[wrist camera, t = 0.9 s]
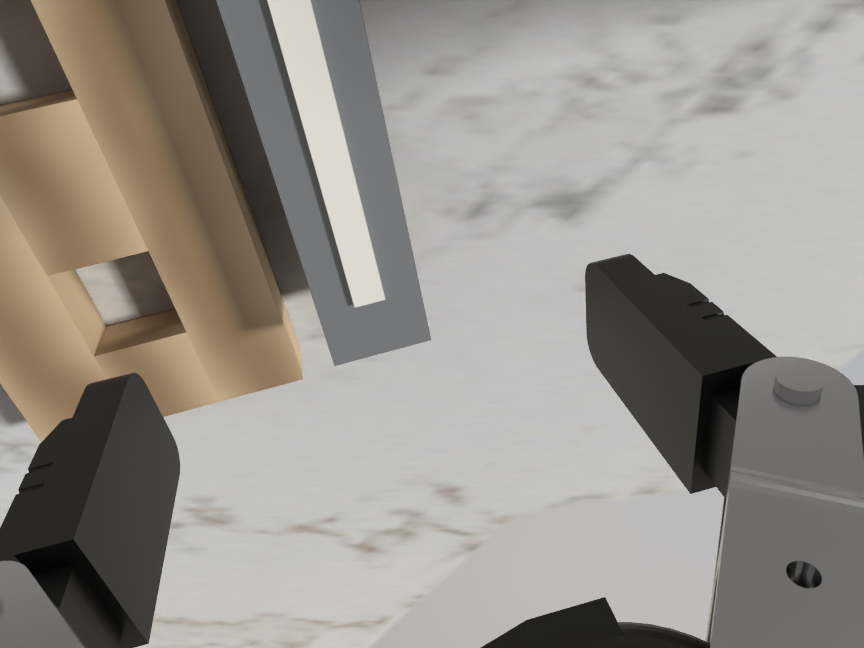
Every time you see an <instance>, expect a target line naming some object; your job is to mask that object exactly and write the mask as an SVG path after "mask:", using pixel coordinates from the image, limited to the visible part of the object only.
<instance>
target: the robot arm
mask: <svg viewBox="0 0 864 648" xmlns="http://www.w3.org/2000/svg"><path fill="white" fill-rule="evenodd" d="M585 283H586V323H587V340H588V346H589V349H590V353H591V355H592V358H593V360H594V362H595V364H596V366H597V368H598V369H599V370H600V372H601V373H602V374H603V376H604V377H605V378H606V380H607V381H608V383H609V384H610V385H611V387H612V388H613V389H614V391H615V392H616V393H617V395H618V396H619V397H620V399H621V400H622V402H623V403H624V404H625V406H626V407H627V408H628V410H629V411H630V412H631V414H632V415H633V416H634V418H635V419H636V421H637V422H638V423H639V425H640V426H641V427H642V429H643V430H644V431H645V433H646V434H647V435H648V437H649V438H650V440H651V441H652V442H653V444H654V445H655V446H656V448H657V449H658V450H659V452H660V453H661V454H662V456H663V457H664V459H665V460H666V461H667V463H668V464H669V465H670V467H671V468H672V469H673V471H674V472H675V473H676V475H677V476H678V478H679V479H680V480H681V482H682V483H683V484H684V486H685V487H686V488H687V490H688V491H689V492H690V494H692V493H695V492H699V491H702V490H706V489H709V488H713V487H717V488H718V490H719V491H720V492H721V493H722V495H723V496H724V504H723V511H722V519H721V527H720V536H719V543H718V551H717V560H716V567H715V575H714V584H713V592H712V599H711V607H710V615H709V622H708V630H707V637H706V642H705V641H703V640H701V639H699V638H697V637H694V636H692V635H689V634H686V633H682V632H680V631H676V630H674V629H670V628H665V627H660V626H656V625H651V624H642V623H631V622H617V621H616V618H615V616H614V614H613V612H612V610H611V608H610V606H609V604H608V603H607V600H606V598H605V597H604V598H601V599H597V600H594V601H590V602H587V603H584V604H580V605H577V606H573V607H570V608H566V609H563V610H560V611H556V612H553V613H549V614H546V615H543V616H539V617H536V618H532V619H529V620H526V621H524V622H523V623H521V624H519V625H518V626H516V627H515V628H513V629H511V630H509V631H508V632H507V633H504V634H503V635H501V636H500V637H498V638H496V639H495V640H493V641H491V642H490V643H488V644H486V645H485V646H483V647H481V648H864V385H853V384H852V383H851V381H850V380H849V379H848V378H847V377H845V376H844V375H843V374H842V373H840V372H839V371H837V370H835V369H834V368H832V367H829V366H827V365H825V364H822V363H819V362H816V361H813V360H809V359H804V358H797V357H776V356H775V355H774V354H773V353H772V352H771V351H769V350H768V349H767V348H766V347H765V346H763V345H762V344H761V343H760V342H759V341H758V340H756V339H755V338H754V337H753V336H752V335H750V334H749V333H748V332H747V331H746V330H745V329H743V328H742V327H741V326H740V325H739V324H737V323H736V322H735V321H734V320H733V319H732V318H730V317H729V316H728V315H724V313H723V311H722V310H721V309H720V308H719V307H717V306H716V305H715V304H714V303H713V302H710V303H709V300H708V298H707V297H706V296H704V295H703V294H702V293H701V292H700V291H698V290H697V289H696V288H695V287H694V286H693V285H691V284H690V283H688V282H685V281H683V280H680V279H678V278H675V277H673V276H670V275H668V274H665V273H662V274H658V275H654V274H653V273H652V272H651V271H650V270H649V269H647V268H646V267H645V266H644V265H643V264H642V263H641V262H640V261H639V260H638V259H636V258H635V257H634V256H633V255H631V254H626V255H622V256H618V257H613V258H609V259H605V260H601V261H597V262H593V263H590V264H588V266H587V268H586V274H585ZM28 470H29V473H27V474H25V476H24V479H23V481H22V483H21V485H20V487H19V489H18V490H19V494H17V495H16V496H15V498H14V500H13V502H12V504H11V506H10V508H9V511H8V513H7V515H6V517H5V519H4V521H3V523H2V526H1V528H0V648H134V647H138V646H141V645H145V644H149V638H150V633H151V627H152V622H153V616H154V611H155V605H156V600H157V595H158V589H159V584H160V578H161V573H162V567H163V562H164V556H165V551H166V545H167V540H168V535H169V529H170V524H171V518H172V513H173V507H174V502H175V496H176V491H177V486H178V480H179V474H180V460H179V453H178V449H177V445H176V442H175V440H174V438H173V436H172V434H171V432H170V430H169V428H168V426H167V424H166V422H165V420H164V418H163V416H162V414H161V412H160V410H159V408H158V406H157V404H156V403H155V401H154V399H153V397H152V395H151V393H150V391H149V389H148V387H147V385H146V383H145V381H144V380H143V379H142V377H141V376H140V375H139V374H137V373H130V374H126V375H122V376H118V377H114V378H110V379H105V380H101V381H97V382H93V383H90V384H88V385H87V386H86V387H85V389H84V392H83V394H82V396H81V399H80V401H79V403H78V406H77V408H76V410H75V413H74V415H73V417H72V418H69V419H65V420H62V421H61V422H60V423H59V424H58V425H57V426H56V427H55V428H54V430H53V431H52V432H51V433H50V434H49V435H48V436H47V437H46V438H45V439H44V440H43V441H42V442H41V443H40V445H39V447H38V449H37V451H36V453H35V455H34V457H33V459H32V462H31V464H30V466H29V468H28Z"/></svg>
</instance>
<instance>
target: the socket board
mask: <svg viewBox="0 0 864 648" xmlns="http://www.w3.org/2000/svg"><path fill="white" fill-rule="evenodd" d="M31 2H32V4H33V6H34V8H35V11H36V13H37V15H38V17H39V19H40V21H41V23H42V25H43V28H44V30H45V32H46V34H47V36H48V38H49V40H50V42H51V45H52V47H53V49H54V51H55V53H56V55H57V57H58V60H59V62H60V64H61V66H62V68H63V70H64V72H65V74H66V77H67V79H68V81H69V83H70V85H71V87H72V89H73V90H69V91H65V92H60V93H56V94H51V95H47V96H42V97H38V98H33V99H29V100H24V101H20V102H16V103H11V104H7V105H2V106H0V384H1V385H2V387H3V388H4V390H5V391H6V392H7V394H8V395H9V397H10V398H11V399H12V401H13V402H14V404H15V405H16V407H17V408H18V409H19V411H20V412H21V414H22V415H23V416H24V418H25V419H26V421H27V422H28V424H29V425H30V426H31V428H32V429H33V431H34V432H35V434H36V435H37V436H38V438H39V439H40V441H41V442H42V441H43V440H44V439H45V438H46V437H47V436H48V435H49V434H50V433H51V432H52V431H53V430H54V428H55V427H56V426H57V425H58V424H59V423H60V422H61V421H62V420H65V419H69V418H72V417H73V415H74V413H75V410H76V408H77V406H78V403H79V401H80V399H81V396H82V394H83V392H84V389H85V387H86V386H87V385H88V384H90V383H93V382H97V381H101V380H105V379H110V378H114V377H118V376H122V375H126V374H130V373H137V374H139V375H140V376H141V377H142V379H143V380H144V381H145V383H146V385H147V387H148V389H149V391H150V393H151V395H152V397H153V399H154V401H155V403H156V404H157V406H158V408H159V410H160V412H161V414H162V416H163V417H164V416H168V415H172V414H175V413H179V412H183V411H187V410H190V409H194V408H198V407H201V406H205V405H209V404H213V403H216V402H220V401H224V400H227V399H231V398H235V397H238V396H242V395H246V394H250V393H253V392H257V391H261V390H264V389H268V388H272V387H275V386H279V385H283V384H287V383H290V382H294V381H298V380H301V379H303V377H302V363H301V350H300V347H299V344H298V342H297V339H296V336H295V333H294V330H293V328H292V325H291V322H290V319H289V316H288V313H287V311H286V308H285V305H284V302H283V299H282V297H281V294H280V291H279V288H278V285H277V282H276V280H275V277H274V274H273V271H272V268H271V266H270V263H269V260H268V257H267V254H266V252H265V249H264V246H263V243H262V240H261V237H260V235H259V232H258V229H257V226H256V223H255V221H254V218H253V215H252V212H251V209H250V207H249V204H248V201H247V198H246V195H245V192H244V190H243V187H242V184H241V181H240V178H239V176H238V173H237V170H236V167H235V164H234V162H233V159H232V156H231V153H230V150H229V147H228V145H227V142H226V139H225V136H224V133H223V131H222V128H221V125H220V122H219V119H218V117H217V114H216V111H215V108H214V105H213V102H212V100H211V97H210V94H209V91H208V88H207V86H206V83H205V80H204V77H203V74H202V72H201V69H200V66H199V63H198V60H197V57H196V55H195V52H194V49H193V46H192V43H191V41H190V38H189V35H188V32H187V29H186V26H185V24H184V21H183V18H182V15H181V12H180V10H179V7H178V4H177V1H176V0H31ZM147 251H149V253H150V256H151V258H152V260H153V262H154V264H155V266H156V268H157V270H158V273H159V275H160V277H161V279H162V281H163V283H164V285H165V288H166V290H167V292H168V294H169V296H170V298H171V300H172V302H173V305H174V307H175V309H173V310H169V311H165V312H161V313H157V314H153V315H150V316H146V317H142V318H138V319H134V320H130V321H126V322H122V323H118V324H114V325H110V326H107V327H106V325H105V323H104V321H103V319H102V318H101V316H100V314H99V312H98V310H97V309H96V307H95V305H94V303H93V301H92V299H91V298H90V296H89V294H88V292H87V290H86V289H85V287H84V285H83V283H82V281H81V279H80V278H79V276H78V274H77V272H76V270H75V269H78V268H82V267H86V266H90V265H94V264H98V263H102V262H106V261H110V260H114V259H118V258H122V257H127V256H131V255H135V254H139V253H143V252H147Z"/></svg>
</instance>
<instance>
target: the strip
mask: <svg viewBox="0 0 864 648" xmlns="http://www.w3.org/2000/svg"><path fill="white" fill-rule="evenodd" d="M216 1H217V5H218V8H219V11H220V14H221V17H222V20H223V23H224V26H225V29H226V32H227V35H228V38H229V42H230V45H231V48H232V51H233V54H234V57H235V60H236V63H237V66H238V69H239V72H240V75H241V79H242V82H243V85H244V88H245V91H246V94H247V97H248V100H249V103H250V106H251V109H252V112H253V116H254V119H255V122H256V125H257V128H258V131H259V134H260V137H261V140H262V143H263V146H264V150H265V153H266V156H267V159H268V162H269V165H270V168H271V171H272V174H273V177H274V180H275V183H276V187H277V190H278V193H279V196H280V199H281V202H282V205H283V208H284V211H285V214H286V217H287V220H288V224H289V227H290V230H291V233H292V236H293V239H294V242H295V245H296V248H297V251H298V254H299V257H300V261H301V264H302V267H303V270H304V273H305V276H306V279H307V282H308V285H309V288H310V291H311V294H312V298H313V301H314V304H315V307H316V310H317V313H318V316H319V319H320V322H321V325H322V328H323V331H324V335H325V338H326V341H327V344H328V347H329V350H330V353H331V356H332V359H333V362H334V365H335V366H336V365H340V364H344V363H348V362H351V361H355V360H359V359H362V358H366V357H370V356H373V355H377V354H381V353H385V352H388V351H392V350H396V349H399V348H403V347H407V346H411V345H414V344H418V343H422V342H425V341H429V340H431V337H430V332H429V327H428V323H427V318H426V313H425V309H424V304H423V299H422V294H421V290H420V285H419V280H418V276H417V271H416V266H415V261H414V257H413V252H412V247H411V243H410V238H409V233H408V229H407V224H406V219H405V214H404V210H403V205H402V200H401V196H400V191H399V186H398V181H397V177H396V172H395V167H394V163H393V158H392V153H391V148H390V144H389V139H388V134H387V130H386V125H385V120H384V115H383V111H382V106H381V101H380V97H379V92H378V87H377V83H376V78H375V73H374V68H373V64H372V59H371V54H370V50H369V45H368V40H367V35H366V31H365V26H364V21H363V17H362V12H361V7H360V2H359V0H216Z"/></svg>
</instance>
